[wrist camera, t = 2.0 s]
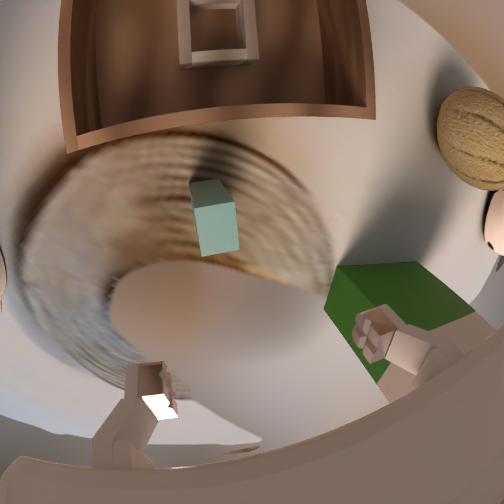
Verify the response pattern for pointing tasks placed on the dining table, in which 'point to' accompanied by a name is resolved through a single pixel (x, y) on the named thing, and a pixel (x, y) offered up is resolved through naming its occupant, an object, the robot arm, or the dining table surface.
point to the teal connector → (214, 217)
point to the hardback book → (402, 312)
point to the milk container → (495, 222)
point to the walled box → (208, 63)
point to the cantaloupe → (473, 136)
